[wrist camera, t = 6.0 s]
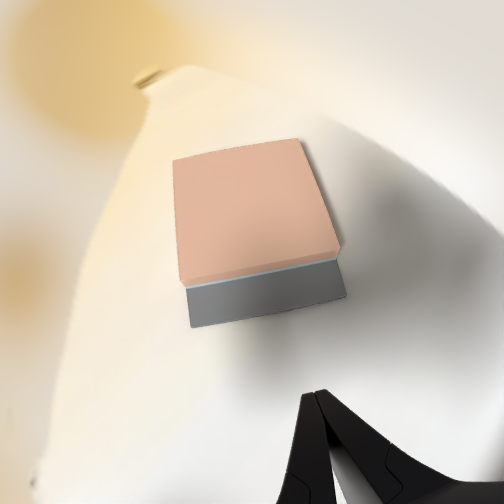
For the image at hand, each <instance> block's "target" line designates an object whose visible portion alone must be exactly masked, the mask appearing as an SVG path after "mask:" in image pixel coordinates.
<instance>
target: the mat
mask: <svg viewBox="0 0 504 504" xmlns="http://www.w3.org/2000/svg"><path fill="white" fill-rule="evenodd" d="M186 292H187V301H188V309H189V317H190V325H191V328H197V327H203V326H209V325H215V324H220V323H226V322H231V321H237V320H242V319H248V318H253V317H258V316H263V315H268V314H273V313H278V312H282V311H287V310H292V309H296V308H301V307H305V306H310V305H314V304H319V303H323V302H327V301H331V300H336V299H340V298H344V297H346V292H345V288H344V285H343V282H342V278H341V275H340V272H339V269H338V266H337V262H336V260H331V261H326V262H322V263H317V264H312V265H307V266H302V267H297V268H293V269H288V270H283V271H278V272H273V273H268V274H263V275H258V276H252V277H247V278H242V279H237V280H232V281H227V282H221V283H216V284H211V285H205V286H200V287H194V288H189V289H186Z"/></svg>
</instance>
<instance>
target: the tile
mask: <svg viewBox="0 0 504 504" xmlns="http://www.w3.org/2000/svg"><path fill="white" fill-rule="evenodd" d="M173 188H174V210H175V227H176V241H177V254H178V266H179V277H180V281H181V282H182V284H183V285H184V286H185V288H186V289H189V288H194V287H200V286H205V285H211V284H216V283H221V282H227V281H232V280H237V279H242V278H247V277H252V276H258V275H263V274H268V273H273V272H278V271H283V270H288V269H293V268H297V267H302V266H307V265H312V264H317V263H322V262H326V261H331V260H336V258H337V256H338V254H339V252H340V250H341V248H340V245H339V242H338V239H337V236H336V233H335V230H334V228H333V225H332V222H331V219H330V217H329V214H328V211H327V209H326V206H325V203H324V201H323V198H322V195H321V193H320V190H319V188H318V185H317V183H316V180H315V178H314V175H313V173H312V170H311V168H310V165H309V163H308V161H307V158H306V156H305V153H304V151H303V149H302V146H301V144H300V142H299V139H298V138H295V139H288V140H280V141H273V142H266V143H260V144H254V145H248V146H242V147H236V148H231V149H225V150H220V151H215V152H210V153H205V154H200V155H196V156H191V157H187V158H182V159H178V160H174V161H173Z"/></svg>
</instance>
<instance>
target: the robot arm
mask: <svg viewBox="0 0 504 504" xmlns="http://www.w3.org/2000/svg"><path fill="white" fill-rule="evenodd" d="M390 443H391V442H390V441H389V440H387V439H386V438H385V437H384V436H382V435H381V434H380V433H379V432H377V431H376V430H375V429H374V428H372V427H371V426H370V425H369V424H367V423H366V422H365V421H364V420H362V419H361V418H360V417H359V416H357V415H356V414H355V413H354V412H353V411H351V410H350V409H349V408H348V407H347V406H345V405H344V404H343V403H342V402H341V401H339V400H338V399H337V398H336V397H335V396H333V395H332V394H331V393H330V392H329V391H328V390H326V389H323V390H318V391H315V392H314V393H313V392H310V393H305V394H302V396H301V401H300V406H299V411H298V417H297V422H296V427H295V432H294V437H293V442H292V447H291V451H290V456H289V460H288V465H287V469H286V473H285V477H284V482H283V485H282V488H281V492H280V495H279V497H278V500H277V503H276V504H337V501H336V494H335V486H334V479H333V472H332V468H333V470H334V473H335V475H336V478H337V480H338V483H339V485H340V487H341V490H342V492H343V495H344V497H345V500H346V502H347V504H504V481H495V482H465V481H459V480H455V479H452V478H450V477H447V476H445V475H443V474H441V473H440V472H438V471H436V470H434V469H432V468H430V467H428V466H426V465H424V464H422V463H421V462H419V461H417V460H416V459H414V458H412V457H411V456H409V455H408V454H406V453H405V452H403V451H402V450H400V449H399V448H398V447H397V446H395V445H394V444H393V443H391V444H390Z"/></svg>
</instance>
